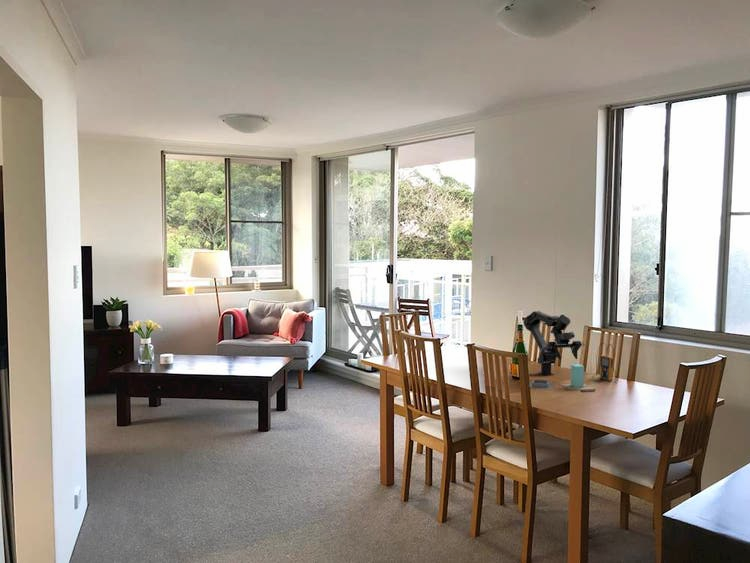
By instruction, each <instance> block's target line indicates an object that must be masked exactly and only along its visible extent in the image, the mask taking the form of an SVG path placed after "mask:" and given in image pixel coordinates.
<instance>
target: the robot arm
mask: <svg viewBox="0 0 750 563" xmlns="http://www.w3.org/2000/svg"><path fill="white" fill-rule="evenodd" d="M541 322H543V323H544V324H545V325H546V326H547V327H548V328H549V327H550V328H551V330H550V334H553V337H554V340H553V341H548V342H546V340H545V338H544V336H543V334H542V332H541V330H540V323H541ZM570 324H571V319H570V318H569V317H567V316H565V314H561V315H560V316H559V315H549V314H547V313H544V312H542V311H539V310H537V311H535V310H534V311H532V312H531V314H528V315H527V316H526V317H525V318H524V320H523V326H524V327H525V328H526V330H527V331H529V332H530V333H531V335H532V336H533V339H534V340H535V342H536V343H535V344H536V345H537V347H538V349H539V354H538V355H539V356H538V358H537V364H539V365H540V371H538V374H540V375H543V376H552V375H555V374H554V373H553V372H552V365H555V364H556V361H557V359H559V360H560V361H561V360H562V357H561V354H560V352H559V348H561V349H568V348H570V350H571V353H572V356H573V357H574V358H575V360H577V359H578V351H579V350H580V349H581V347H582V345H583V343H582V341H581V340H573V341H572V342H571V340H572V339H574V338H575V336H576V335H575V333H574V331H570V332H565V331H566V330H567V328H568V327H569V325H570ZM570 342H571V343H570Z"/></svg>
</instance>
